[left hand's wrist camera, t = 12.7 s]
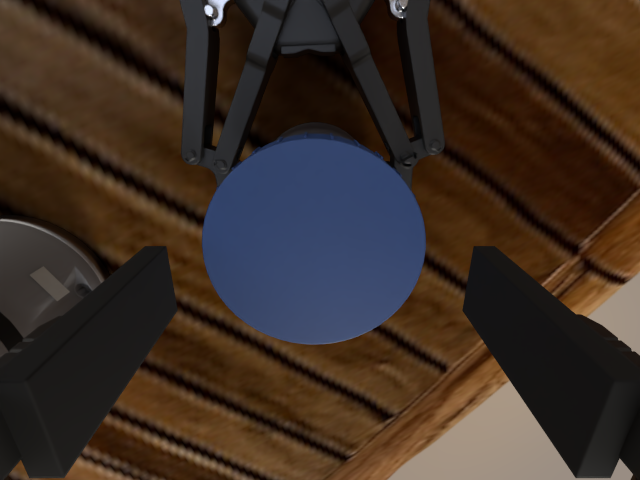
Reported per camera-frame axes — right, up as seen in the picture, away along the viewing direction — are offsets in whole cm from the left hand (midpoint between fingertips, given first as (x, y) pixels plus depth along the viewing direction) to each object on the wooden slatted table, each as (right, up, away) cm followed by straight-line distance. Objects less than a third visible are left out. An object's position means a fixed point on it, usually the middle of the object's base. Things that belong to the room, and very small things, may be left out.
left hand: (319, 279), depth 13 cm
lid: (0, +1, +2) cm, 3 cm away
